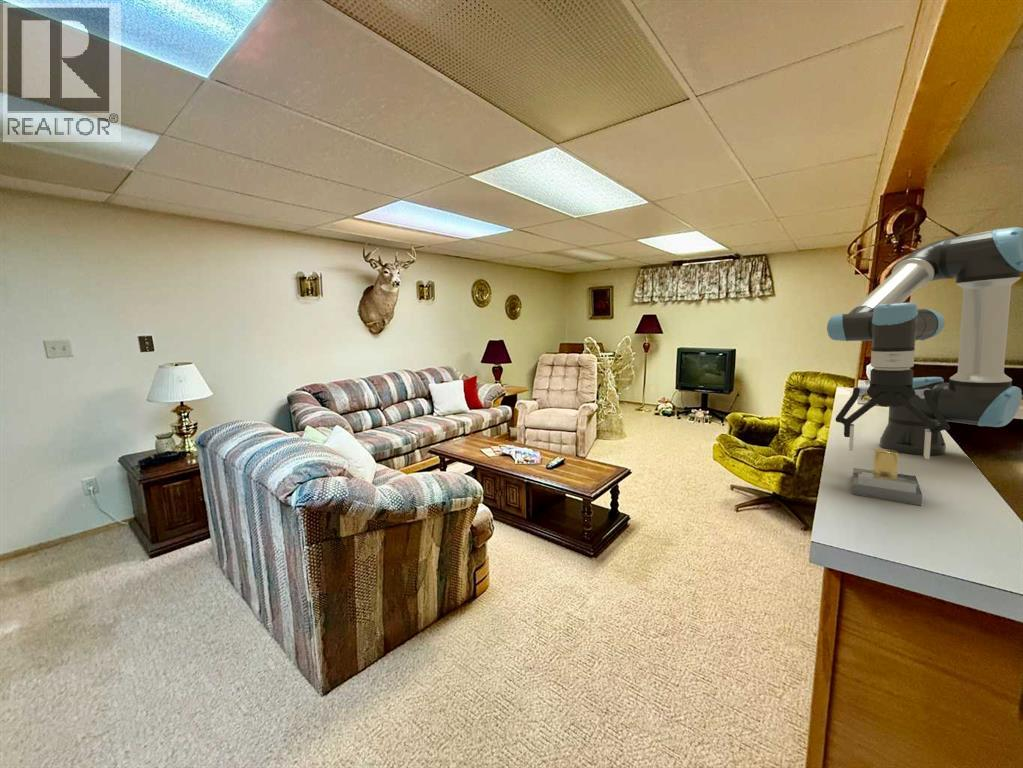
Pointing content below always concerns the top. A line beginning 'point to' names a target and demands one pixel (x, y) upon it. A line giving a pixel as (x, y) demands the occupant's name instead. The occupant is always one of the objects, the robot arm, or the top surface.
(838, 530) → the top surface
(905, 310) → the robot arm
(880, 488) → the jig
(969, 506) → the top surface
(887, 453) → the brass rounded cylinder
